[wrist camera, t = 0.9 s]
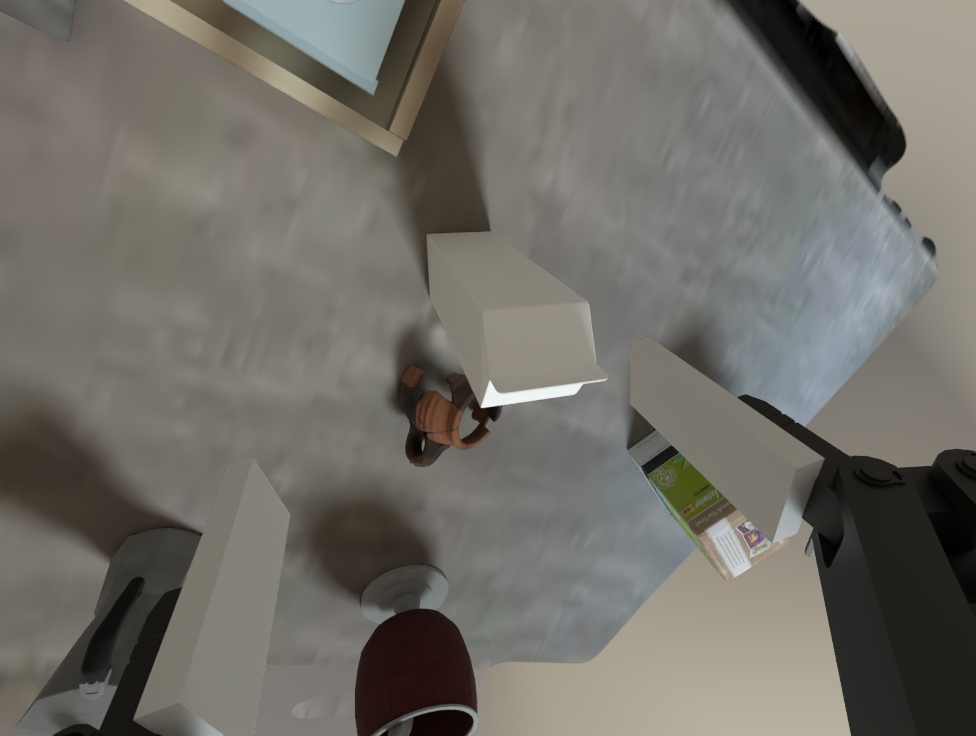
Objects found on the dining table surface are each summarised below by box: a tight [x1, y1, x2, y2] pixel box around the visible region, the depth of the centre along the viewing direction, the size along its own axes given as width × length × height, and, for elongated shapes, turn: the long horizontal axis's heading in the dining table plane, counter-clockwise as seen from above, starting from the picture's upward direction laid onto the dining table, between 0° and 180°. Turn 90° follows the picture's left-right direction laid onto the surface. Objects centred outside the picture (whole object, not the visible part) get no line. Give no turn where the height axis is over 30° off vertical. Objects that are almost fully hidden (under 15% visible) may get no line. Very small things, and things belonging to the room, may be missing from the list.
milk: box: [427, 231, 608, 408], centre depth 29 cm, size 6×6×22 cm
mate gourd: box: [355, 565, 479, 736], centre depth 51 cm, size 16×14×20 cm
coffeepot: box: [15, 528, 202, 736], centre depth 37 cm, size 15×9×18 cm, turn 159°
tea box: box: [628, 430, 790, 582], centre depth 55 cm, size 15×10×15 cm, turn 35°
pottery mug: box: [398, 364, 503, 467], centre depth 43 cm, size 12×10×8 cm
